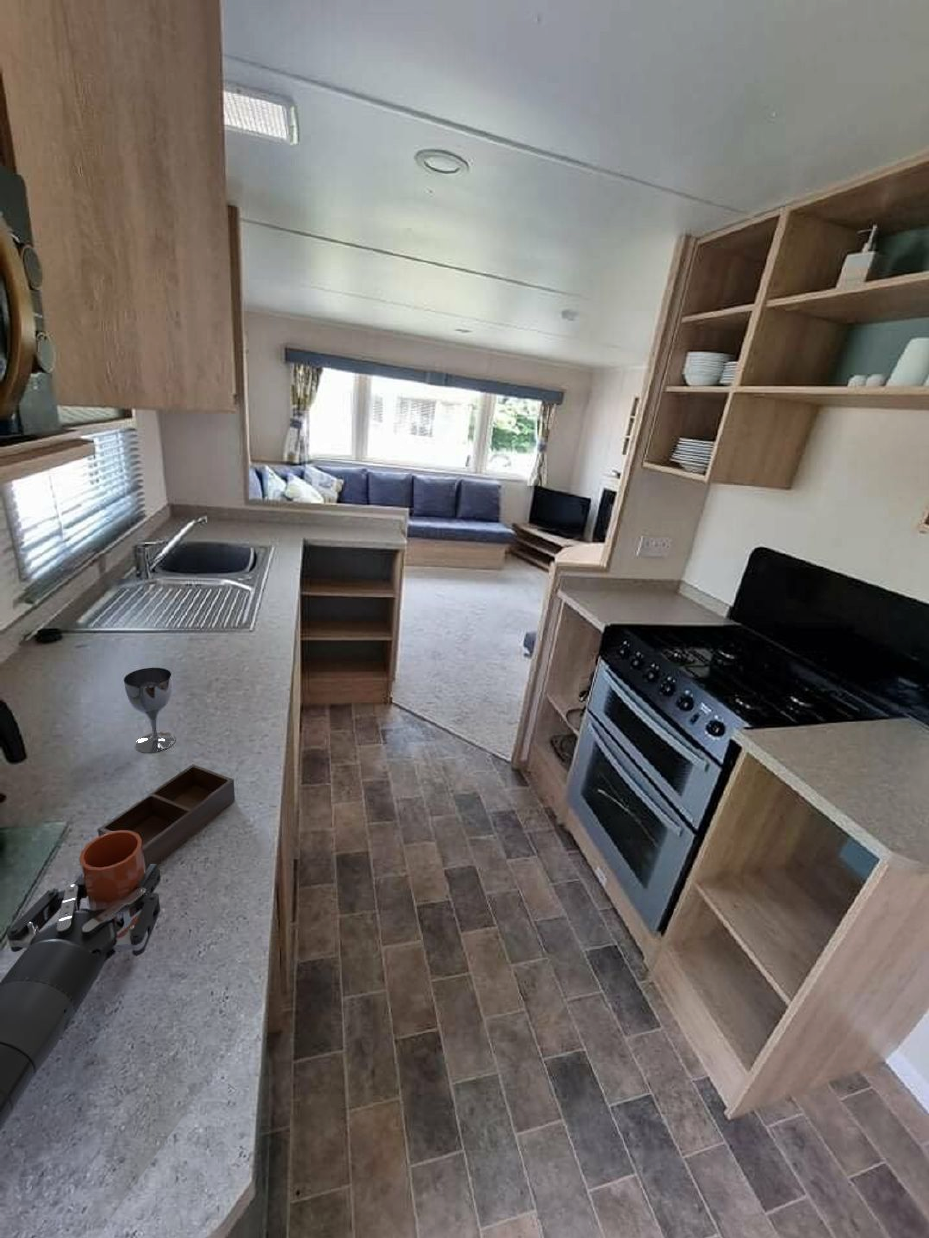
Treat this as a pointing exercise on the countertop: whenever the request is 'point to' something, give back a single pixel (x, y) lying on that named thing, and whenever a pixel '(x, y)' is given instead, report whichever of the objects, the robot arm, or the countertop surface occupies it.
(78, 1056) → the countertop surface
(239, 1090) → the countertop surface
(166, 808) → the caddy
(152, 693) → the wine glass
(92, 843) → the tumbler
